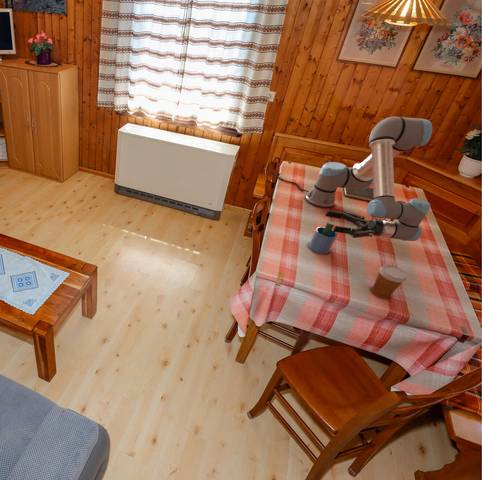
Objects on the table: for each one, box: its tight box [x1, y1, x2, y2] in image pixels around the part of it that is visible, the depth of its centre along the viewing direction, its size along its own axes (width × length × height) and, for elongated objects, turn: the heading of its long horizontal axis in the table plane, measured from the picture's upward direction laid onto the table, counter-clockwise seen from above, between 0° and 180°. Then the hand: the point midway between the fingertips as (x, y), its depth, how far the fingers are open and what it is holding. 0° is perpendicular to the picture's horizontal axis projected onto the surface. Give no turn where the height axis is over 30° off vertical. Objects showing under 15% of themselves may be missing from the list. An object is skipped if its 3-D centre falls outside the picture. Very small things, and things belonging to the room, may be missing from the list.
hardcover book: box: [342, 187, 374, 203], centre depth 231 cm, size 16×23×2 cm
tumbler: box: [308, 226, 338, 255], centre depth 179 cm, size 9×9×10 cm
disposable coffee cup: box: [371, 264, 408, 299], centre depth 154 cm, size 10×10×12 cm
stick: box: [322, 220, 335, 237], centre depth 177 cm, size 3×3×14 cm
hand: (330, 220), depth 173 cm, fingers open, 13 cm apart
